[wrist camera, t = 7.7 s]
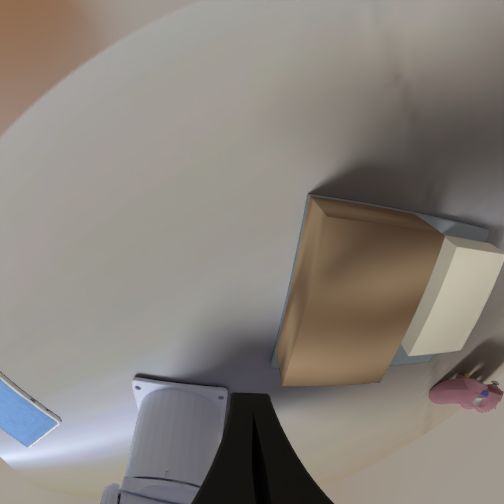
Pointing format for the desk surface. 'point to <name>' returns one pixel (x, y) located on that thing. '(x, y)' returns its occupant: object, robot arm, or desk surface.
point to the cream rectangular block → (453, 296)
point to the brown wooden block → (353, 292)
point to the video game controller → (467, 393)
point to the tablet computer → (23, 415)
